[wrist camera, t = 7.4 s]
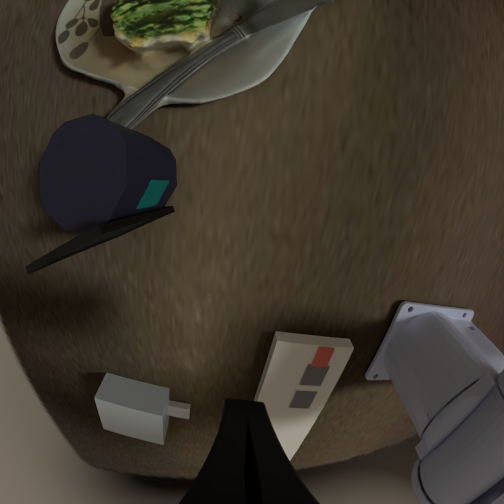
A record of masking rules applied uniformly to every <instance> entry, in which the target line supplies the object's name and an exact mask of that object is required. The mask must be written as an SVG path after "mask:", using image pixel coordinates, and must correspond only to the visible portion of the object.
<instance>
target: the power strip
mask: <svg viewBox="0 0 504 504" xmlns="http://www.w3.org/2000/svg"><path fill="white" fill-rule="evenodd" d="M353 349H354V347H353V345H352V343H351V341H350V339H346V338H335V337H324V336H314V335H305V334H296V333H288V332H280V331H275V335H274V338H273V341H272V344H271V348H270V351H269V354H268V357H267V360H266V364H265V367H264V370H263V373H262V376H261V379H260V382H259V385H258V388H257V392H256V395H255V398H254V401H259V402H263V403H264V404H265V406H266V410H267V413H268V415H269V418H270V421H271V423H272V426H273V428H274V431H275V433H276V435H277V437H278V440H279V442H280V444H281V446H282V448H283V450H284V452H285V454H286V455H287V457H288V459H289V461H290V460H291V458H292V457H293V455H294V454H295V452H296V451H297V449H298V448H299V446H300V445H301V443H302V442H303V440H304V438H305V437H306V435H307V434H308V432H309V430H310V429H311V427H312V425H313V424H314V422H315V421H316V419H317V417H318V415H319V414H320V412H321V410H322V409H323V407H324V405H325V403H326V402H327V400H328V398H329V396H330V394H331V393H332V391H333V389H334V387H335V385H336V383H337V381H338V379H339V378H340V376H341V374H342V372H343V370H344V368H345V366H346V364H347V362H348V360H349V358H350V356H351V354H352V352H353Z"/></svg>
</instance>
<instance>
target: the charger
mask: <svg viewBox="0 0 504 504" xmlns="http://www.w3.org/2000/svg"><path fill="white" fill-rule="evenodd" d="M94 399H95V402H96V406H97V409H98V413H99V416H100V419H101V422H102V426H103V429H106V430H109V431H112V432H116V433H119V434H122V435H126V436H129V437H133V438H137V439H141V440H145V441H149V442H153V443H158V444H162V445H164V441H165V437H166V432H167V427H168V423H169V416H174V417H179V418H184V419H189V416H190V406H191V404H187V403H181V402H176V401H171V400H169V388H166V387H161V386H157V385H152V384H148V383H144V382H140V381H136V380H132V379H128V378H124V377H121V376H117V375H114V374H110V373H106V375H105V377H104V379H103V381H102V383H101V385H100V387H99V389H98V391H97V393H96V395H95V397H94Z"/></svg>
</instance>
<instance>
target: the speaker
mask: <svg viewBox="0 0 504 504" xmlns="http://www.w3.org/2000/svg"><path fill="white" fill-rule="evenodd" d="M39 182H40V199H41V202H42V204H43V207H44V209H45V211H46V214H48V215H49V216H50V217H51V218H52V219H53V220H54V221H56V222H57V223H58V224H59V225H60V226H61V227H63V228H64V229H65V230H66V231H67V232H77V231H86V232H84V233H83V234H81V235H79V236H77V237H75V238H74V239H72V240H70V241H68V242H66V243H65V244H63V245H61V246H59V247H58V248H56V249H54V250H53V251H51V252H49V253H47V254H46V255H44V256H42V257H41V258H39V259H37V260H36V261H34V262H33V263H31V264H29V265H28V266H26V270H27V273H28V275H29V274H31V273H33V272H35V271H37V270H40V269H42V268H44V267H46V266H49V265H51V264H53V263H56V262H58V261H60V260H63V259H65V258H67V257H70V256H72V255H74V254H77V253H79V252H82V251H84V250H87V249H89V248H91V247H94V246H96V245H99V244H101V243H104V242H107V241H109V240H112V239H114V238H117V237H119V236H121V235H123V234H125V233H128V232H130V231H132V230H134V229H136V228H138V227H141V226H143V225H145V224H147V223H150V222H152V221H154V220H156V219H159V218H161V217H163V216H165V215H168V214H170V213H172V212H175V210H174V208H173V206H172V207H168V208H163V207H164V206H165V204H166V203H167V201H168V199H169V198H170V196H171V194H172V193H173V191H174V189H175V188H176V186H177V179H176V160H175V158H174V156H173V154H172V152H171V151H170V149H168V148H167V147H165V146H163V145H162V144H160V143H158V142H157V141H155V140H154V139H152V138H150V137H148V136H145V135H143V134H141V133H139V132H136V131H134V130H131V129H129V128H127V127H124V126H122V125H120V124H117V123H115V122H112V121H110V120H107V119H105V118H102V117H100V116H97V115H95V114H90V115H87V116H83V117H80V118H77V119H73V120H70V121H67V122H65V123H63V124H62V125H61V126H60V127H59V128H58V129H57V130H56V131H55V132H54V133H53V135H52V137H51V139H50V141H49V144H48V146H47V148H46V150H45V152H44V155H43V157H42V159H41V162H40V164H39ZM162 208H163V209H162Z"/></svg>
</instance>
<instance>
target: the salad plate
mask: <svg viewBox="0 0 504 504" xmlns="http://www.w3.org/2000/svg"><path fill="white" fill-rule="evenodd" d="M101 1H102V0H68V1H67V3H66V5H65V7H64V9H63V10H62V12H61V14H60V16H59V19H58V22H57V26H56V44H57V47H58V51H59V54H60V58H61V61H62V63H63V65H64V66H66V67H67V68H69V69H71V70H72V71H75V72H79V73H83V74H85V75H86V76H88V77H91V78H94V79H96V80H99V81H104V82H106V83H111V84H113V85H115V86H116V87H117V88H119V89H121V90H122V91H123V92H124V93H125V97H124V98H123V100H122V101H121V102H120V104H119V105H118V106H116V107H115V108H114V109H113V110H112V111H111V112H110V114H109V115H108V116H107V120H110V121H112V122H115V123H117V124H120V125H122V126H124V127H127V128H129V129H131V130H132V129H133V128H134V127H136V126H137V125H138V124H139V123H140V122H141V121H142V120H143V119H144V118H146V117H147V116H148V115H149V114H150V113H151V112H153V111H154V110H156V109H157V108H159V107H161V106H163V105H167V104H181V103H184V104H203V103H208V102H210V101H214V100H218V99H222V98H225V97H228V96H231V95H234V94H237V93H240V92H242V91H245V90H249V89H251V88H254V87H256V86H257V85H258V84H259V83H261V82H262V81H264V80H265V79H267V78H268V77H269V76H270V75H271V74H272V73H273V71H274V70H275V69H276V68H277V67H278V66H279V65H280V63H281V62H282V61H283V59H284V58H285V56H286V55H287V54H288V52H289V50H290V49H291V47H292V46H293V43H294V41H295V40H296V38H297V36H298V35H299V33H300V32H301V30H302V29H303V27H304V25H305V23H306V22H307V20H308V18H309V16H310V14H311V12H312V11H313V10H314V9H315V8H316V7H317V6H319V5H322V4H326V3H331V2H332V1H335V0H115V4H114V5H113V7H112V13H111V16H110V17H111V19H112V20H113V21H114V23H113V28H114V30H115V32H114V33H115V36H104V35H103V32H102V30H101V27H100V22H99V18H100V12H99V10H100V5H101ZM231 14H239V15H240V16H241V17H242V19H241V20H240V21H238V22H233V21H230V20H229V19H228V17H229V15H231Z"/></svg>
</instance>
